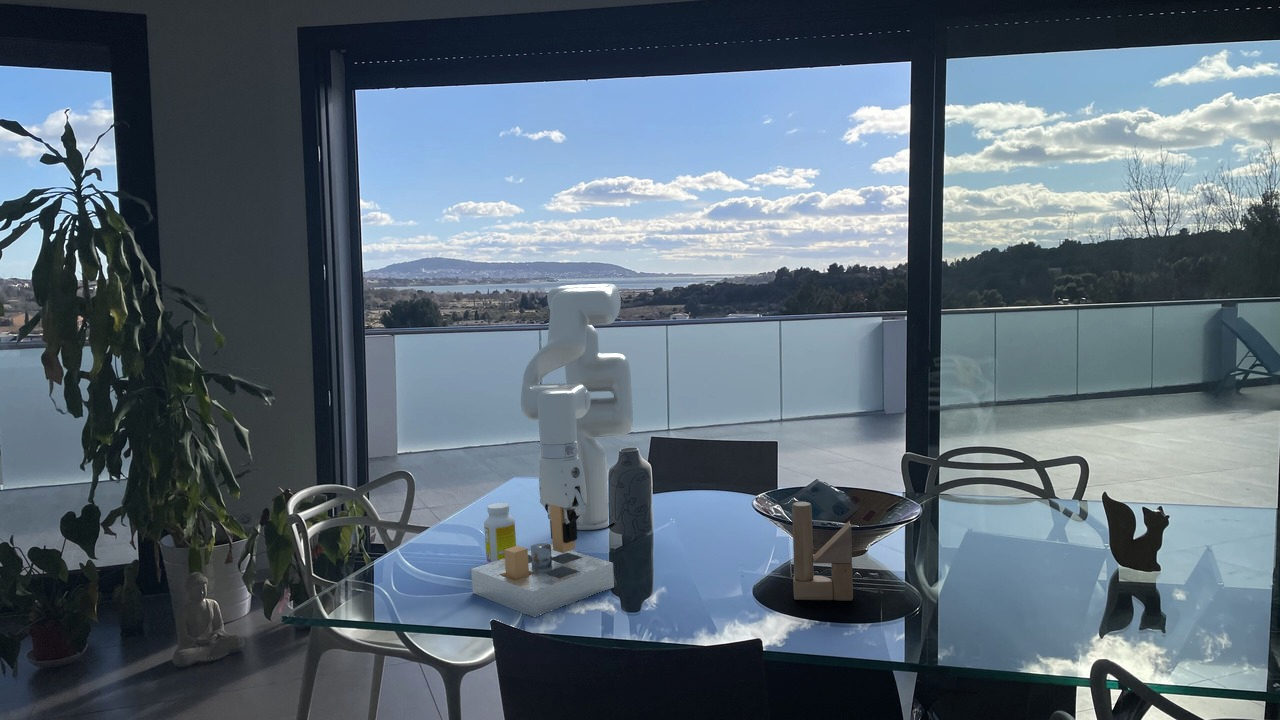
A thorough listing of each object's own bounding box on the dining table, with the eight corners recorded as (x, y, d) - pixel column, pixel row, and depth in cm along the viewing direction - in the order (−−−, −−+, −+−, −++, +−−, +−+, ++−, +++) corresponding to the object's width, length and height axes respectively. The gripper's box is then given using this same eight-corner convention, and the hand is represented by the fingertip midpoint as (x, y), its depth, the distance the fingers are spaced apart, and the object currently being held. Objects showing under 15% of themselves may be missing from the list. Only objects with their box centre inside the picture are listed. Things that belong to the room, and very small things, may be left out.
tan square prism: (565, 546, 184) (561, 498, 183) (575, 549, 182) (572, 501, 181) (553, 550, 182) (549, 502, 181) (563, 553, 180) (559, 504, 179)
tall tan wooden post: (520, 594, 177) (517, 545, 176) (530, 598, 174) (527, 548, 173) (507, 599, 174) (504, 549, 173) (517, 603, 172) (514, 552, 171)
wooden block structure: (853, 601, 165) (851, 506, 163) (794, 600, 167) (791, 506, 165) (851, 594, 169) (849, 500, 167) (793, 593, 170) (790, 501, 169)
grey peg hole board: (551, 566, 193) (548, 525, 192) (614, 587, 178) (611, 543, 177) (472, 593, 179) (469, 549, 178) (534, 617, 164) (531, 570, 164)
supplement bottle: (523, 559, 199) (519, 502, 197) (506, 568, 193) (502, 510, 191) (497, 556, 201) (494, 500, 200) (480, 565, 195) (476, 508, 194)
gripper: (600, 451, 177) (605, 542, 179) (548, 443, 188) (553, 528, 190) (571, 458, 172) (576, 552, 173) (519, 449, 183) (524, 536, 185)
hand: (564, 538), depth 182 cm, fingers closed on tan square prism, 3 cm apart
